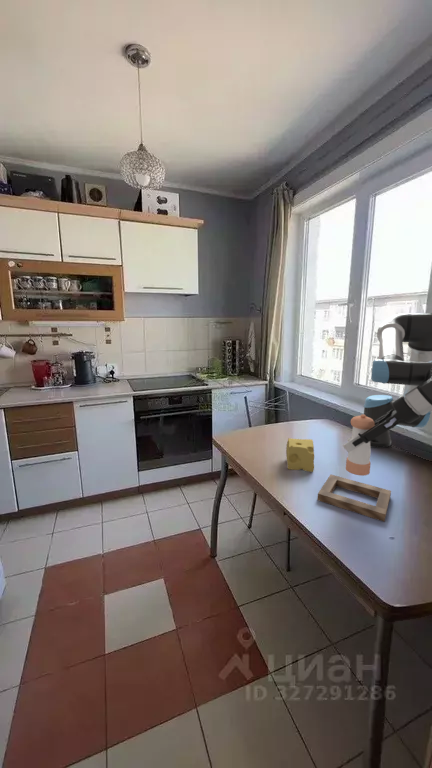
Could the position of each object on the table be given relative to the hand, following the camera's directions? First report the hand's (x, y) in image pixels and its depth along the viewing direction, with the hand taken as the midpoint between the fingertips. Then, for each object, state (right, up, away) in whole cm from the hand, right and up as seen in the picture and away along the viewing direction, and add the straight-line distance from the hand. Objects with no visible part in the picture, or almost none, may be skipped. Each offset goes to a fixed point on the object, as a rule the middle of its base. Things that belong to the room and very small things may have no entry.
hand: (347, 445), depth 104 cm
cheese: (-9, -13, +26) cm, 31 cm away
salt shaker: (+3, -8, 0) cm, 9 cm away
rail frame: (+3, -18, +2) cm, 19 cm away
